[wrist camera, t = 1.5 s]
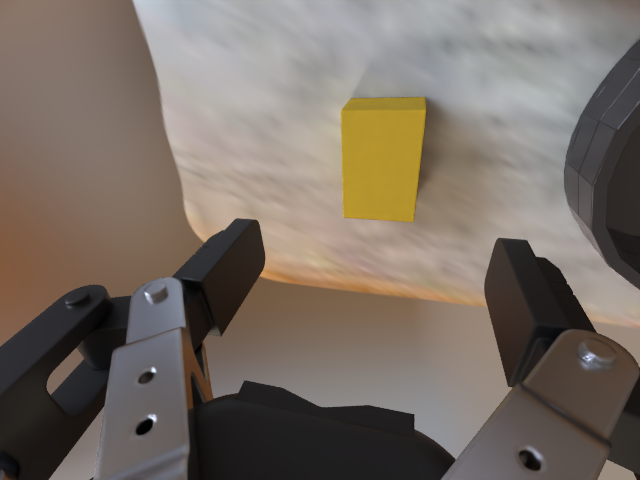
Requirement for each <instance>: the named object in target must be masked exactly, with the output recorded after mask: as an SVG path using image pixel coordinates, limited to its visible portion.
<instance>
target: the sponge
mask: <svg viewBox="0 0 640 480" xmlns="http://www.w3.org/2000/svg"><path fill="white" fill-rule="evenodd" d="M426 112H427V109H426V101H425V97H398V98H351V99H350V100H349V102H348V103H347V104H346V105H345V106H344V108H343V109H342V110H341V135H342V178H343V217H344V218H359V219H374V220H389V221H404V222H414V216H415V207H416V199H417V190H418V181H419V173H420V164H421V155H422V147H423V138H424V130H425V121H426Z"/></svg>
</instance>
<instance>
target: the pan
mask: <svg viewBox="0 0 640 480" xmlns="http://www.w3.org/2000/svg"><path fill="white" fill-rule="evenodd" d="M564 187H565V193H566V198H567V202H568V205H569V208H570V210H571V212H572V215H573V217H574V219H575V220H576V221H577V223H578V224H579V226H580V228H581V230H582V232H583V234H584V235H585V237H586V238H587V239H588V240H589V242H590V243H591V244H592V245H593V247H594V248H595V249H596V251H597V252H598V253H599V254H600V256H601V257H602V258H603V259H604V261H605V262H606V263H607V264H608V266H610V267H611V268H612V269H613V270H615V271H616V272H617V273H619V274H620V275H621V276H622V277H624V278H625V279H626V280H627V281H629V282H630V283H631V284H633V285H634V286H635V287H636V288H638V289H639V290H640V40H639V41H638V42H637V43H636V44H635V45H634V46H633V47H632V48H631V49H630V50H629V51H628V52H627V53H626V55H625V56H624V57H623V58H622V59H621V60H620V61H619V62H618V63H617V65H616V66H615V67H614V68H613V69H612V70H611V71H610V73H609V74H608V75H607V77H606V78H605V79H604V81H603V82H602V83H601V85H600V86H599V88H598V89H597V90H596V92H595V93H594V94H593V96H592V98H591V99H590V101H589V103H588V105H587V106H586V108H585V110H584V111H583V113H582V115H581V117H580V119H579V121H578V123H577V126H576V128H575V130H574V133H573V135H572V138H571V141H570V145H569V148H568V151H567V155H566V162H565V169H564Z"/></svg>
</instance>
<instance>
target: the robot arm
mask: <svg viewBox="0 0 640 480" xmlns="http://www.w3.org/2000/svg"><path fill="white" fill-rule="evenodd" d="M264 265H265V251H264V246H263V240H262V235H261V230H260V225H259V222H258V221H257V220H253V219H239V218H237V219H235V220H234V221H233V222H232V223H231V224H230V225H229V226H228V227H227V228H226V229H225V230H222V231H221V232H219V233H217V234H215V235H214V236H212V237H210V238H209V239H208V240H207V241H206V242H205V243H204V244H203V245H202V247H200V249H198V251H197V252H196V254H194V255H193V256H192V257H191V258H190V259H189V260H188V261H187V262H186V263H185V264H184V265H183V266H182V267H181V268H180V269H179V270H178V271H177V272H176V273H175V274H174V275H173V276H172V277H165V278H159V279H155V280H152V281H150V282H148V283H146V284H144V285H143V286H141V287H139V288H138V289H137V290H136V291H135V292H134V294H133V295H132V296H124V297H115V298H111V297H110V296H109V294H108V292H107V290H106V289H105V288H104V287H103V286H101V285H88V286H84V287H80V288H78V289H75V290H73V291H70V292H69V293H67V294H65V295H64V296H62V297H61V298H59V299H58V300H57V301H56V302H55V303H53V304H52V305H51V306H50V307H48V308H47V309H46V310H45V311H44V312H42V313H41V314H40V315H39V316H37V317H36V318H35V319H34V320H32V321H31V322H30V323H29V324H28V325H26V326H25V327H24V328H23V329H22V330H20V331H19V332H18V333H17V334H15V335H14V336H13V337H12V338H11V339H9V340H8V341H7V342H6V343H4V344H3V345H2V346H1V347H0V480H49V478H50V477H51V476H52V474H53V473H54V472H55V470H56V469H57V468H58V466H59V465H60V464H61V462H62V461H63V459H64V458H65V457H66V456H67V454H68V453H69V452H70V451H71V449H72V448H73V447H74V445H75V444H76V442H77V441H78V440H79V439H80V437H81V436H82V435H83V433H84V432H85V431H86V429H87V428H88V427H89V425H90V424H91V423H92V421H93V420H94V419H95V418H96V416H97V415H98V413H99V412H100V411H101V410H102V408H103V407H104V413H103V419H102V426H101V433H100V440H99V446H98V453H97V459H96V466H95V473H94V477H93V478H91V479H90V480H597V479H598V477H599V475H600V472H601V470H602V468H603V466H604V464H605V462H606V460H610V461H612V462H614V463H616V464H618V465H620V466H622V467H624V468H626V469H628V470H631V471H633V472H634V475H635V477H636V479H637V480H640V367H639V366H638V363H637V362H636V360H635V359H634V357H633V356H632V355H631V354H630V353H629V352H628V351H627V350H626V349H625V348H623V347H622V346H621V345H620V344H618V343H617V342H615V341H613V340H612V339H610V338H608V337H606V336H603V335H601V334H598V333H597V332H596V330H595V329H594V327H593V325H592V324H591V322H590V320H589V318H588V317H587V315H586V313H585V312H584V310H583V308H582V307H581V305H580V303H579V302H578V300H577V298H576V296H575V295H573V291H572V290H571V288H570V286H569V285H568V284H567V281H566V279H565V278H564V276H563V274H562V273H561V271H560V269H559V268H557V267H556V266H555V265H554V264H552V263H551V262H550V261H548V260H547V259H546V258H542V257H536V256H535V254H534V252H533V251H532V249H531V247H530V245H529V243H528V241H527V240H521V239H507V238H498V239H497V240H496V243H495V245H494V249H493V253H492V256H491V260H490V263H489V267H488V270H487V274H486V278H485V286H484V291H485V298H486V302H487V306H488V310H489V314H490V318H491V321H492V325H493V329H494V333H495V337H496V341H497V345H498V349H499V352H500V357H501V361H502V365H503V368H504V372H505V376H506V380H507V384H508V387H513V388H512V390H511V391H510V392H509V393H508V395H507V396H506V397H505V398H504V400H503V401H502V402H501V403H500V405H499V406H498V407H497V408H496V410H495V411H494V412H493V414H492V415H491V416H490V417H489V419H488V420H487V421H486V423H485V424H484V425H483V426H482V428H481V429H480V430H479V431H478V433H477V434H476V435H475V437H474V438H473V439H472V440H471V442H470V443H469V444H468V445H467V447H466V448H465V449H464V450H463V452H462V453H461V454H460V456H459V457H458V458H457V459H456V460H455V458H454V457H453V456H452V455H451V454H450V453H448V452H447V451H446V450H445V449H444V448H443V447H441V446H440V445H439V444H438V443H437V442H435V441H434V440H432V439H431V438H429V437H428V436H426V435H424V434H422V433H421V432H419V431H417V430H415V429H414V414H409V413H404V412H399V411H394V410H389V409H384V408H380V407H374V406H370V405H365V406H347V407H346V406H345V407H319V406H317V405H315V404H313V403H311V402H309V401H307V400H305V399H303V398H301V397H299V396H297V395H295V394H293V393H291V392H289V391H287V390H285V389H283V388H280V387H275V386H270V385H265V384H260V383H255V382H250V381H244V383H243V385H242V387H241V389H240V391H239V393H236V394H230V395H225V396H221V397H218V398H215V399H214V398H213V393H212V389H211V382H210V375H209V369H208V362H207V356H206V349H205V345H204V342H203V340H204V339H205V337H206V336H207V334H208V335H215V336H220V337H221V336H222V334H223V333H224V331H225V330H226V328H227V326H228V325H229V323H230V322H231V320H232V318H233V317H234V315H235V314H236V312H237V310H238V309H239V307H240V306H241V304H242V303H243V301H244V299H245V298H246V296H247V295H248V293H249V291H250V290H251V288H252V287H253V285H254V283H255V282H256V280H257V279H258V277H259V275H260V274H261V272H262V271H263V268H264ZM75 348H77V349H78V350H79V352H80V353H81V355H82V356H83V358H84V360H83V361H82V362H81V363H80V364H79V365H78V366H77V367H76V369H75V370H74V371H73V372H72V373H71V374H70V375H69V376H68V377H67V378H66V379H65V381H64V382H63V383H62V384H61V385H60V386H59V387H58V388H57V389H56V390H55V391H54V392H53V393H52V394H51V395H50V394H49V393H48V391H47V388H46V385H47V380H48V378H49V376H50V374H51V373H52V372H53V370H55V368H56V367H57V366H58V365H59V364H60V363H61V362H62V361H63V360H64V359H65V358H66V357H67V356H68V355H69V354H70V353H71V352H72V351H73V350H74V349H75Z"/></svg>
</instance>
